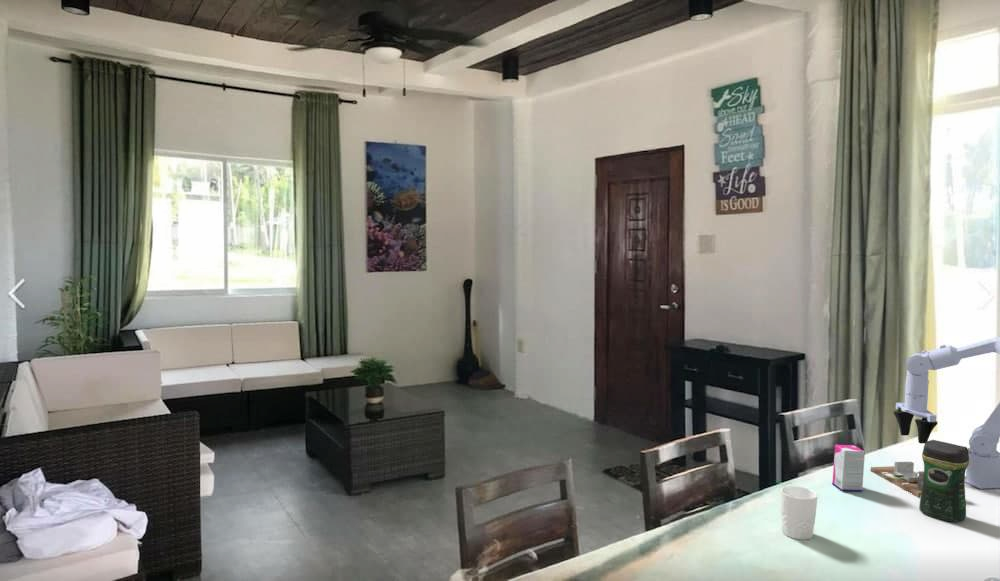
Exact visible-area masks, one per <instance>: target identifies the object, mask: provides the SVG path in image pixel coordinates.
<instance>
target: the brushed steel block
mask: <svg viewBox="0 0 1000 581" xmlns="http://www.w3.org/2000/svg"><path fill="white" fill-rule="evenodd" d="M893 466H894V477H900V478H902V479H904V480H906V481H907V482H918V475H919V472H920V471H918V472H917V471H914V470H915V468H914V467H915V463H914V462H913V461H895V462H894V465H893Z"/></svg>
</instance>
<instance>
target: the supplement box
mask: <svg viewBox="0 0 1000 581" xmlns="http://www.w3.org/2000/svg"><path fill="white" fill-rule="evenodd" d="M865 452H866V451H865V450H863V449H861V448H860V447H859V446H857V445H855V444H853V445H852V444H835V445H834V453H833V454H834V456H833V457H834V458H833V470H832V471H833V472H832V485H833V486H834V487H835V488H837V489H838V490H839V491H840V492H845V493H846V492H847V493H848V492H851V493H854V492H855V493H856V492H857V493H862V492H863V487H864V486H863V485H864V484H863V483H864V472H865V471H864V470H865V467H864V466H865V456H866V455H865V454H866V453H865Z"/></svg>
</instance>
